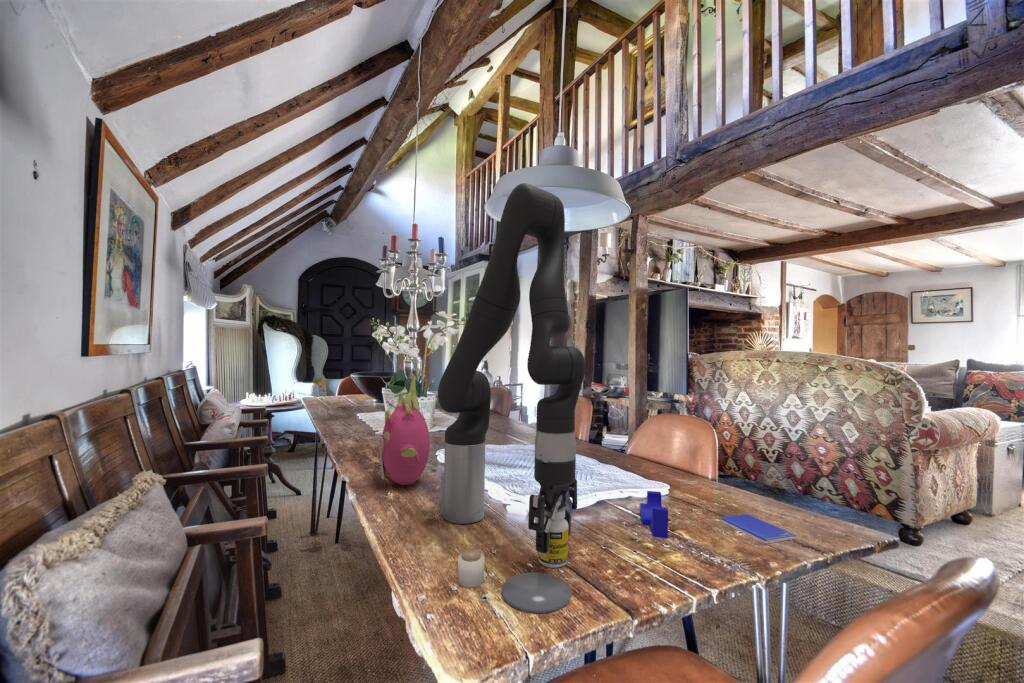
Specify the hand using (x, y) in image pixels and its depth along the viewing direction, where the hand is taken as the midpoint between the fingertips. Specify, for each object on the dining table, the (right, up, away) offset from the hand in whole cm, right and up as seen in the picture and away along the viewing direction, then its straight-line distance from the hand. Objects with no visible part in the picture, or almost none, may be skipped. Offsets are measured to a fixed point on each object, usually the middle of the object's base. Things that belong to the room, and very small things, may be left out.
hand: (553, 543), depth 86 cm
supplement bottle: (0, -4, 0) cm, 4 cm away
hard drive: (+46, -5, +16) cm, 49 cm away
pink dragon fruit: (-37, -3, +44) cm, 58 cm away
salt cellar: (-15, -3, -7) cm, 17 cm away
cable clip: (+23, -4, +17) cm, 30 cm away
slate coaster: (-4, -3, -11) cm, 12 cm away
